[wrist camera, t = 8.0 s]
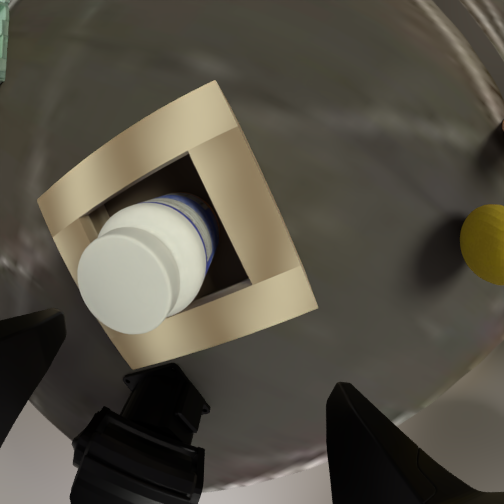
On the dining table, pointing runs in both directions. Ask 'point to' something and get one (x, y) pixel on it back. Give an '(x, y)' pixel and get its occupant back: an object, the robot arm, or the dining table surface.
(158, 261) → the pill bottle
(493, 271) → the lemon
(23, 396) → the robot arm
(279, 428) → the dining table surface
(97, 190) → the box
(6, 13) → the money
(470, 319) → the dining table surface
